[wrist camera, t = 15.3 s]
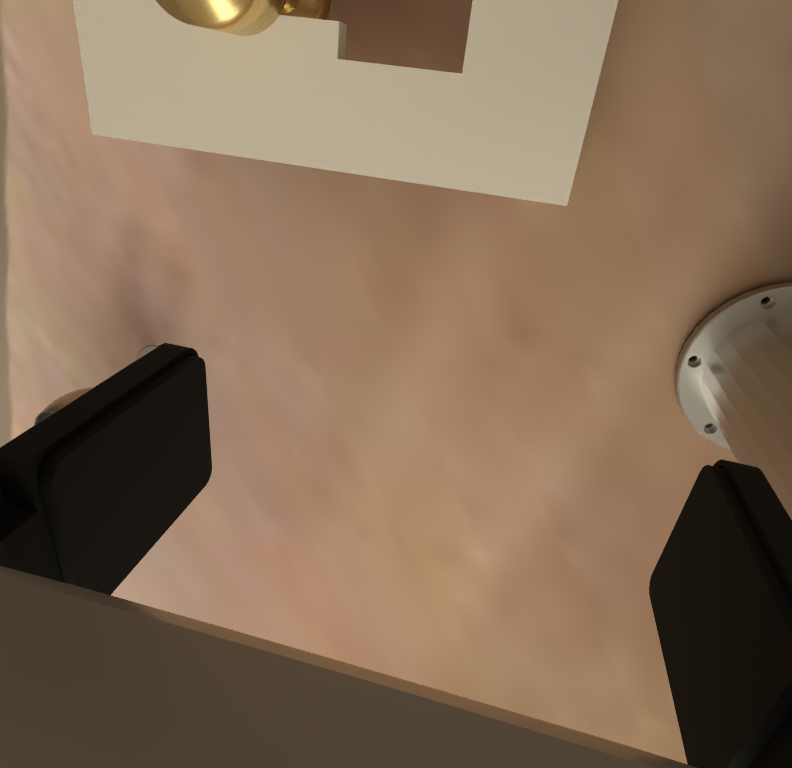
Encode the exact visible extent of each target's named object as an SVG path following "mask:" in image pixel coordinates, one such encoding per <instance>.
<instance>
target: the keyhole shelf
mask: <svg viewBox="0 0 792 768" xmlns="http://www.w3.org/2000/svg"><path fill="white" fill-rule="evenodd" d="M73 4H74V11H75V18H76V25H77V32H78V39H79V46H80V53H81V60H82V67H83V74H84V81H85V88H86V95H87V102H88V109H89V116H90V123H91V130H92V134H93V135H99V136H106V137H113V138H119V139H126V140H132V141H139V142H146V143H152V144H159V145H166V146H172V147H179V148H186V149H192V150H199V151H205V152H212V153H219V154H225V155H232V156H239V157H245V158H252V159H258V160H265V161H272V162H278V163H285V164H292V165H298V166H305V167H312V168H318V169H325V170H331V171H338V172H345V173H351V174H358V175H365V176H371V177H378V178H385V179H391V180H398V181H404V182H411V183H418V184H424V185H431V186H438V187H444V188H451V189H458V190H464V191H471V192H477V193H484V194H491V195H497V196H504V197H511V198H517V199H524V200H530V201H537V202H544V203H550V204H557V205H564V206H567V204H568V200H569V196H570V192H571V188H572V184H573V180H574V176H575V172H576V168H577V164H578V160H579V156H580V152H581V148H582V144H583V140H584V136H585V132H586V128H587V124H588V120H589V116H590V112H591V108H592V104H593V100H594V96H595V92H596V88H597V84H598V80H599V76H600V72H601V68H602V64H603V60H604V56H605V52H606V48H607V44H608V40H609V36H610V32H611V28H612V24H613V20H614V16H615V12H616V8H617V4H618V0H473V2H472V9H471V16H470V23H469V30H468V37H467V44H466V50H465V57H464V64H463V71H462V74H460V73H452V72H443V71H435V70H426V69H418V68H410V67H401V66H393V65H384V64H376V63H368V62H359V61H351V60H345V53H346V35H347V24H344V23H342V22H340V21H332V20H322V19H313V18H304V17H295V16H285V15H279V17H278V18H277V19H276V21H275V22H274V23H273V24H272V25H271V26H270V27H269V28H267V29H266V30H264V31H262V32H261V33H258V34H255V35H251V36H239V35H234V34H229V33H225V32H220V31H216V30H211V29H207V28H203V27H198V26H194V25H189V24H186V23H183V22H181V21H179V20H177V19H175V18H174V17H172V16H171V15H170V14H168V13H167V12H166V11H165V10H164V9H163V8H162V7H161V6H160V5H159V4H158V3H157V1H156V0H73Z"/></svg>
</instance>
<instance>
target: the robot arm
mask: <svg viewBox="0 0 792 768" xmlns="http://www.w3.org/2000/svg"><path fill="white" fill-rule="evenodd" d="M765 297H767V300H766V301H764V302H761V301H762V299H763V298H765ZM692 356H695V358H694V359H689V358H690V357H692ZM675 391H676V395H677V399H678V403H679V405H680V407H681V409H682V411H683V414H684V415H685V417H686V418H687V420H688V421H689V423H690V424H691V426H692V427H693V428H694V429H695V430H696V431H697V432H698V433H699V434H700V435H702V436H703V437H704V438H706V439H707V440H709V441H711V442H712V443H714V444H716V445H717V446H720V447H722V448H725V449H728V450H730V451H732V452H733V454H734V456H735V458H736V459H737V461H738V463H735V462H731V461H726V460H719V461H717V462H716V463H715V464H714V466H709V465H706V466H704V467H703V468H702V470H701V471H700V473H699V475H698V477H697V480H696V482H695V484H694V486H693V488H692V490H691V492H690V495H689V497H688V499H687V501H686V503H685V505H684V507H683V509H682V512H681V514H680V516H679V518H678V520H677V522H676V524H675V526H674V529H673V531H672V533H671V535H670V537H669V539H668V541H667V544H666V546H665V548H664V550H663V552H662V554H661V556H660V558H659V561H658V563H657V565H656V567H655V569H654V571H653V573H652V576H651V580H650V586H649V594H650V599H651V604H652V608H653V613H654V617H655V621H656V626H657V630H658V635H659V639H660V644H661V648H662V652H663V657H664V661H665V666H666V670H667V674H668V679H669V683H670V688H671V692H672V697H673V701H674V705H675V710H676V714H677V719H678V723H679V727H680V732H681V736H682V741H683V745H684V749H685V754H686V758H687V763H688V765H687V764H684V763H681V762H678V761H674V760H671V759H668V758H665V757H662V756H658V755H655V754H652V753H649V752H646V751H642V750H639V749H636V748H633V747H630V746H626V745H623V744H620V743H616V742H613V741H610V740H606V739H603V738H600V737H596V736H593V735H589V734H586V733H583V732H579V731H576V730H572V729H569V728H566V727H562V726H559V725H556V724H552V723H549V722H545V721H542V720H539V719H535V718H532V717H529V716H525V715H522V714H518V713H515V712H512V711H508V710H505V709H502V708H498V707H495V706H491V705H488V704H485V703H481V702H478V701H475V700H471V699H468V698H464V697H461V696H458V695H454V694H451V693H447V692H444V691H441V690H437V689H434V688H430V687H427V686H424V685H420V684H417V683H413V682H410V681H406V680H403V679H400V678H396V677H393V676H389V675H386V674H382V673H379V672H375V671H372V670H369V669H365V668H362V667H358V666H355V665H351V664H348V663H345V662H341V661H338V660H334V659H331V658H327V657H324V656H320V655H317V654H313V653H310V652H307V651H303V650H300V649H296V648H293V647H289V646H286V645H282V644H279V643H275V642H272V641H268V640H265V639H262V638H258V637H255V636H251V635H248V634H244V633H241V632H237V631H234V630H230V629H227V628H223V627H220V626H216V625H213V624H209V623H206V622H202V621H199V620H195V619H192V618H188V617H185V616H181V615H177V614H174V613H170V612H167V611H163V610H160V609H156V608H153V607H149V606H146V605H142V604H139V603H135V602H132V601H128V600H125V599H121V598H118V597H114V596H111V594H112V593H113V591H114V590H115V589H116V588H117V587H118V586H119V585H120V583H121V582H122V581H123V580H124V579H125V578H126V577H127V575H128V574H129V573H130V572H131V571H132V570H133V568H134V567H135V566H136V565H137V564H138V563H139V562H140V560H141V559H142V558H143V557H144V556H145V555H146V554H147V552H148V551H149V550H150V549H151V548H152V547H153V545H154V544H155V543H156V542H157V541H158V540H159V539H160V537H161V536H162V535H163V534H164V533H165V532H166V531H167V529H168V528H169V527H170V526H171V525H172V524H173V522H174V521H175V520H176V519H177V518H178V517H179V516H180V514H181V513H182V512H183V511H184V510H185V509H186V508H187V506H188V505H189V504H190V503H191V502H192V501H193V499H194V498H195V497H196V496H197V495H198V494H199V493H200V491H201V490H202V489H203V488H204V487H205V486H206V484H207V483H208V481H209V479H210V476H211V471H212V461H211V446H210V430H209V415H208V399H207V384H206V369H205V362H204V360H203V359H202V358H200V357H198V354H197V352H196V351H195V350H194V349H192V348H187V347H183V346H178V345H173V344H168V343H164V344H162V345H160V346H158V347H157V348H155V349H154V350H152V351H150V352H149V353H147V354H146V355H144V356H143V357H141V358H139V359H138V360H136V361H135V362H133V363H132V364H130V365H129V366H127V367H125V368H124V369H122V370H121V371H119V372H118V373H116V374H114V375H113V376H111V377H110V378H108V379H107V380H105V381H104V382H102V383H100V384H99V385H97V386H96V387H94V388H93V389H91V390H90V391H88V392H86V393H85V394H83V395H82V396H80V397H79V398H77V399H75V400H74V401H72V402H71V403H69V404H68V405H66V406H65V407H63V408H61V409H60V410H58V411H57V412H55V413H54V414H52V415H50V416H49V417H47V418H46V419H44V420H43V421H41V422H40V423H38V424H36V425H35V426H33V427H32V428H30V429H29V430H27V431H26V432H24V433H22V434H21V435H19V436H18V437H16V438H15V439H13V440H11V441H10V442H8V443H7V444H5V445H4V446H2V447H1V448H0V768H792V282H786V283H780V284H774V285H768V286H764V287H761V288H758V289H755V290H752V291H749V292H746V293H744V294H742V295H740V296H738V297H736V298H734V299H732V300H730V301H728V302H726V303H725V304H723V305H722V306H720V307H719V308H718V309H716V310H715V311H713V312H712V313H711V314H709V315H708V316H707V317H706V318H705V319H704V320H703V321H702V322H701V323H700V324H699V325H698V326H697V327H696V328H695V329H694V331H693V332H692V334H691V335H690V336H689V338H688V339H687V341H686V342H685V344H684V346H683V348H682V350H681V353H680V355H679V357H678V361H677V365H676V370H675ZM709 423H710V424H709ZM707 424H708V425H707Z"/></svg>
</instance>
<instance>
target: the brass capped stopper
mask: <svg viewBox="0 0 792 768" xmlns="http://www.w3.org/2000/svg"><path fill="white" fill-rule="evenodd" d="M156 1H157V3H158V4H159V5H160V6H161V7H162V8H163V9H164V10H165V11H166V12H167V13H168V14H170V15H171V16H172V17H174V18H175V19H177V20H179V21H181V22H183V23H186V24H189V25H194V26H198V27H203V28H207V29H211V30H216V31H220V32H225V33H229V34H234V35H239V36H251V35H255V34H258V33H261V32H262V31H264V30H266V29H267V28H269V27H270V26H271V25H272V24H273V23H274V22H275V21H276V19H277V18H278V17H279V15H285V16H295V17H304V18H313V19H322V20H326V19H327V16H328V13H329V9H330V2H331V0H156Z"/></svg>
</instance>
